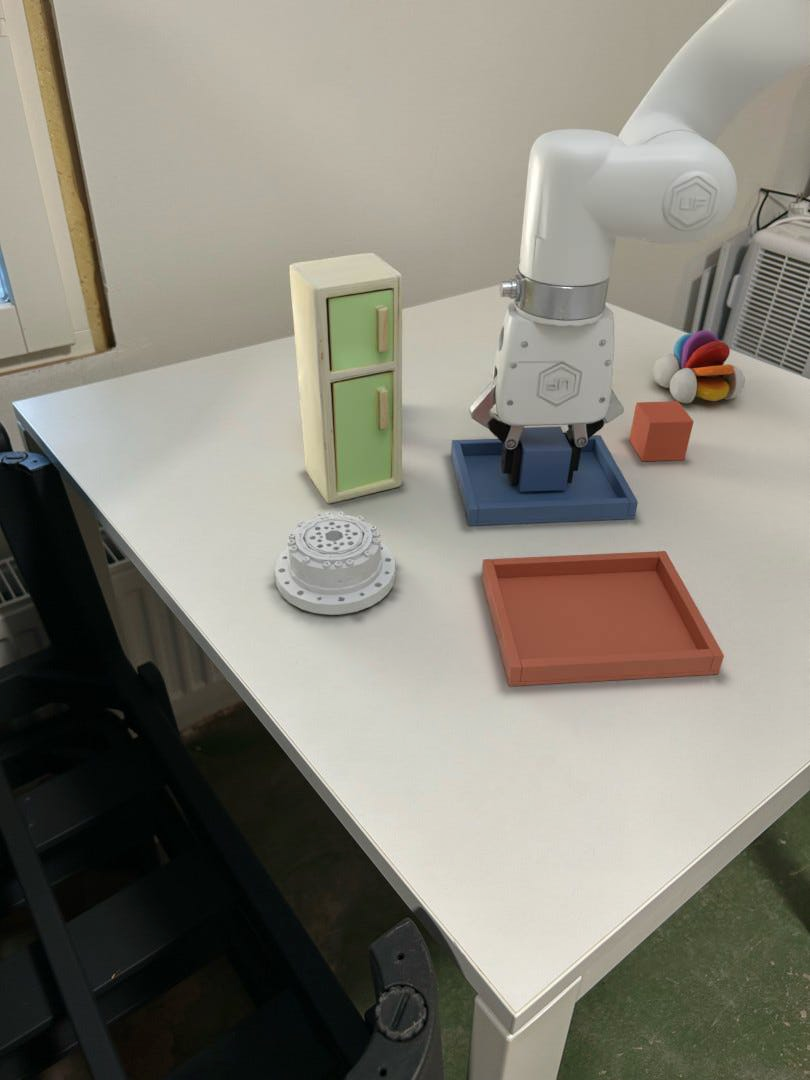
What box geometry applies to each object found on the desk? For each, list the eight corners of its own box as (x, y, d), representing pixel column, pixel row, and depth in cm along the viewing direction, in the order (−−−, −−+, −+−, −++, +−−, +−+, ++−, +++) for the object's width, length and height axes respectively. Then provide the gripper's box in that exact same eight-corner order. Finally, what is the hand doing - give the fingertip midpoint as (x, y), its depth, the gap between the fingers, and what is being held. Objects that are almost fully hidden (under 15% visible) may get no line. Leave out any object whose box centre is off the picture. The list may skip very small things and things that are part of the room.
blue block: (555, 465, 82) (560, 426, 80) (566, 490, 79) (572, 449, 76) (510, 467, 82) (515, 427, 80) (519, 492, 79) (524, 451, 76)
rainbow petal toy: (682, 414, 93) (695, 354, 89) (642, 378, 101) (653, 320, 97) (748, 406, 95) (765, 347, 91) (705, 371, 103) (718, 315, 98)
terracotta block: (669, 438, 89) (678, 400, 86) (684, 460, 85) (694, 421, 83) (628, 440, 89) (636, 402, 86) (642, 461, 85) (650, 422, 82)
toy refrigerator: (328, 510, 77) (316, 289, 65) (303, 472, 83) (287, 261, 70) (405, 491, 80) (408, 276, 67) (376, 456, 85) (374, 250, 73)
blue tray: (597, 450, 87) (600, 434, 86) (634, 518, 77) (638, 501, 75) (450, 455, 86) (451, 439, 84) (468, 526, 75) (469, 508, 74)
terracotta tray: (661, 568, 71) (665, 550, 70) (718, 674, 61) (724, 655, 59) (481, 576, 70) (482, 558, 68) (508, 686, 59) (511, 667, 58)
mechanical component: (404, 610, 66) (385, 538, 74) (405, 567, 63) (385, 496, 71) (279, 624, 65) (273, 548, 72) (274, 580, 62) (269, 507, 70)
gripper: (468, 312, 66) (457, 501, 77) (673, 308, 67) (634, 495, 78) (456, 280, 72) (447, 460, 83) (644, 277, 73) (611, 454, 84)
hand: (538, 475), depth 80 cm, fingers closed on blue block, 4 cm apart
